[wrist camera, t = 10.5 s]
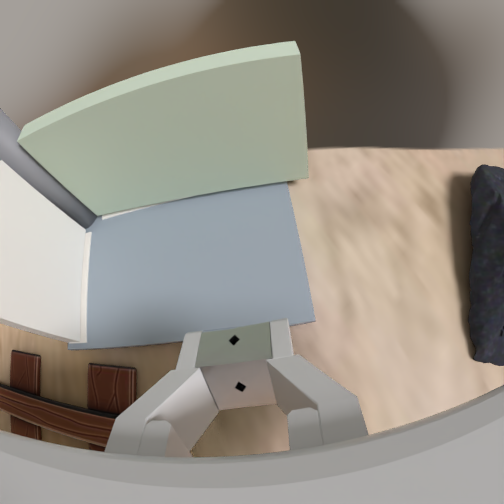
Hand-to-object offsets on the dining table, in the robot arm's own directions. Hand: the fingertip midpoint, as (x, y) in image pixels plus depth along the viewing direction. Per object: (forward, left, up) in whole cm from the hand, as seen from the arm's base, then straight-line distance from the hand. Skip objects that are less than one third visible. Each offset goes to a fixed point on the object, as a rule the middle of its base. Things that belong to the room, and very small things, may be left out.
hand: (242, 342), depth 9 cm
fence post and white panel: (+7, +12, -8) cm, 16 cm away
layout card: (+7, +5, -8) cm, 12 cm away
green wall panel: (+11, +3, -7) cm, 13 cm away
